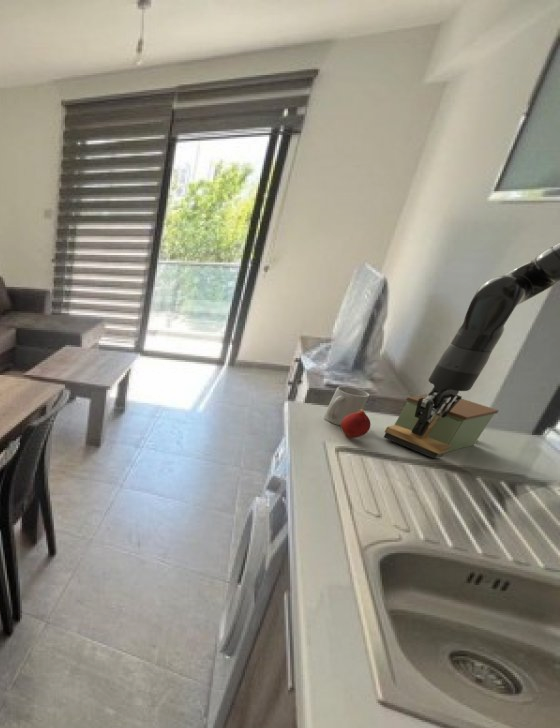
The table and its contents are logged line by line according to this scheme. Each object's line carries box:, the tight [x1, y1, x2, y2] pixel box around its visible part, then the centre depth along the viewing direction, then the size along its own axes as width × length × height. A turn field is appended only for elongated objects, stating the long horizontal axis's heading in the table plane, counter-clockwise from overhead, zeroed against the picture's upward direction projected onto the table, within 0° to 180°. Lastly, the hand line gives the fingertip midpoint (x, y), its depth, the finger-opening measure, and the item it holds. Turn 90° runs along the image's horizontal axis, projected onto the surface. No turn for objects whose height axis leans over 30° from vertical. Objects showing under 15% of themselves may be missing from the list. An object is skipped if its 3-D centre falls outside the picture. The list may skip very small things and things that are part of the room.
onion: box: [340, 409, 371, 439], centre depth 122 cm, size 6×6×8 cm
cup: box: [323, 385, 370, 426], centre depth 131 cm, size 7×10×9 cm
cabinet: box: [394, 393, 499, 452], centre depth 124 cm, size 13×15×10 cm
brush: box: [383, 414, 452, 459], centre depth 118 cm, size 12×4×9 cm, turn 22°
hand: (420, 433), depth 118 cm, fingers closed on brush, 2 cm apart
